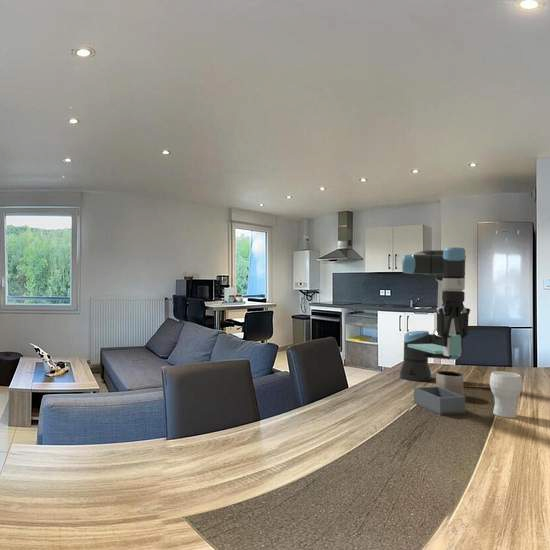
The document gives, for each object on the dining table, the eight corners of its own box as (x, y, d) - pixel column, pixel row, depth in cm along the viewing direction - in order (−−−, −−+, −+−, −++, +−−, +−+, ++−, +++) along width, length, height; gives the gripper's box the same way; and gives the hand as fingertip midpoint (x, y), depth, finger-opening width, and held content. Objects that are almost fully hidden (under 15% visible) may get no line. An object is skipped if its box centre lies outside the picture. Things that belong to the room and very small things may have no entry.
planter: (458, 393, 193) (458, 371, 193) (466, 400, 182) (467, 376, 182) (432, 392, 194) (433, 370, 194) (439, 398, 183) (440, 375, 183)
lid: (407, 346, 175) (408, 329, 175) (432, 346, 178) (432, 328, 178) (442, 355, 155) (442, 335, 155) (469, 354, 159) (469, 335, 159)
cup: (525, 420, 156) (526, 378, 156) (493, 417, 159) (494, 376, 159) (515, 411, 167) (516, 372, 167) (485, 409, 169) (486, 370, 169)
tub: (413, 402, 176) (414, 387, 176) (437, 401, 179) (437, 386, 179) (439, 415, 160) (440, 398, 160) (465, 413, 164) (465, 396, 164)
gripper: (440, 290, 153) (438, 358, 153) (480, 291, 158) (478, 356, 158) (426, 289, 160) (425, 354, 160) (465, 290, 165) (463, 353, 165)
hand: (451, 355), depth 159 cm, fingers closed on lid, 4 cm apart
